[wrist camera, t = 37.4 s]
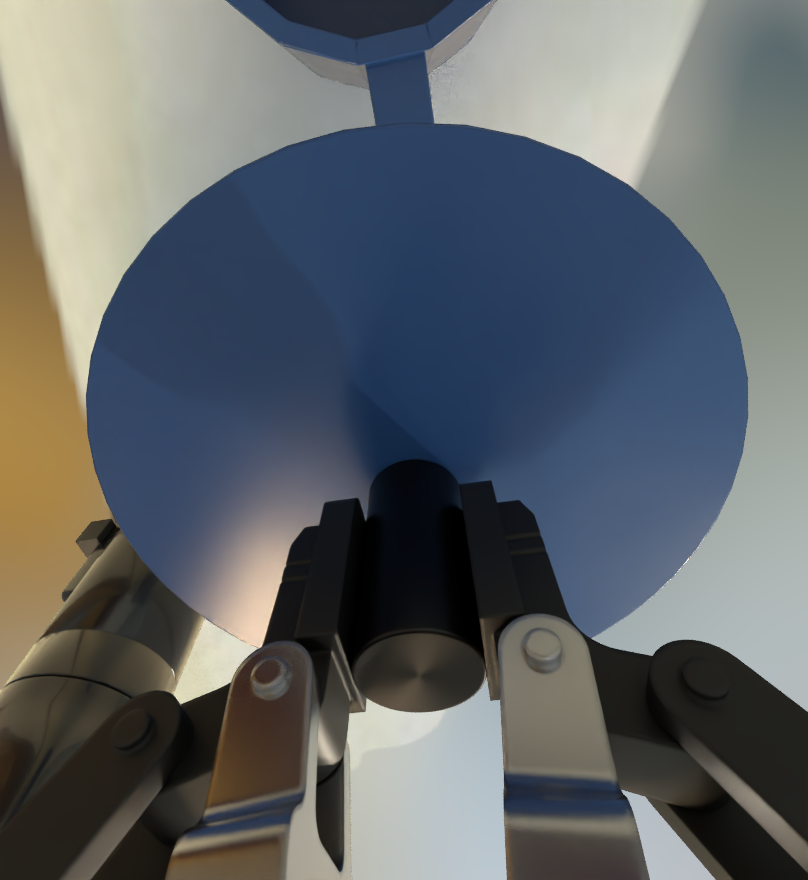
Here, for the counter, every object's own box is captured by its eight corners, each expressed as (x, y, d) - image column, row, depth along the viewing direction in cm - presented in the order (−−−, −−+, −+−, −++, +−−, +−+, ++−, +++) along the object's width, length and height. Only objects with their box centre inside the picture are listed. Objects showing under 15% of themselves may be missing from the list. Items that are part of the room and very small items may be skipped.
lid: (235, 671, 18) (167, 880, 13) (-30, 206, 10) (-493, 274, 5) (678, 627, 16) (799, 843, 11) (793, 43, 8) (1375, -104, 3)
